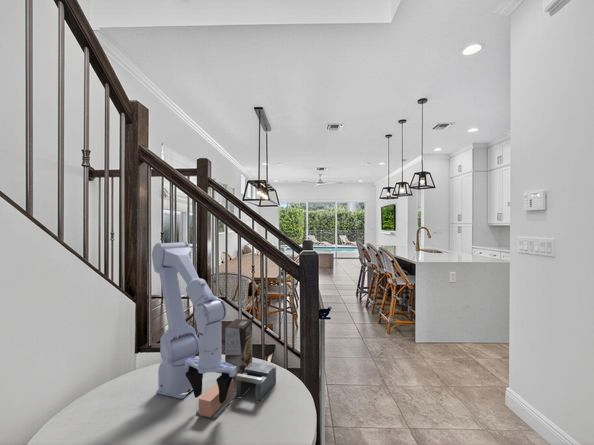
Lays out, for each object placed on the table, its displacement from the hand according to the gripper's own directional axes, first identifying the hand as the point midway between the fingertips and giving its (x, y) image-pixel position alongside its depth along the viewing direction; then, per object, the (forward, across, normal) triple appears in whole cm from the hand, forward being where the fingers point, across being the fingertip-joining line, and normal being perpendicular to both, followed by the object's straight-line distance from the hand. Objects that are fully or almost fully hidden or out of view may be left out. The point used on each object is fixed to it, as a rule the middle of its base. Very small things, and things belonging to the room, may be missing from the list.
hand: (210, 398), depth 79 cm
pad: (+4, 0, +4) cm, 5 cm away
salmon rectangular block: (+3, 0, +3) cm, 4 cm away
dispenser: (+4, +7, +13) cm, 15 cm away
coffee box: (+4, -4, +22) cm, 22 cm away
